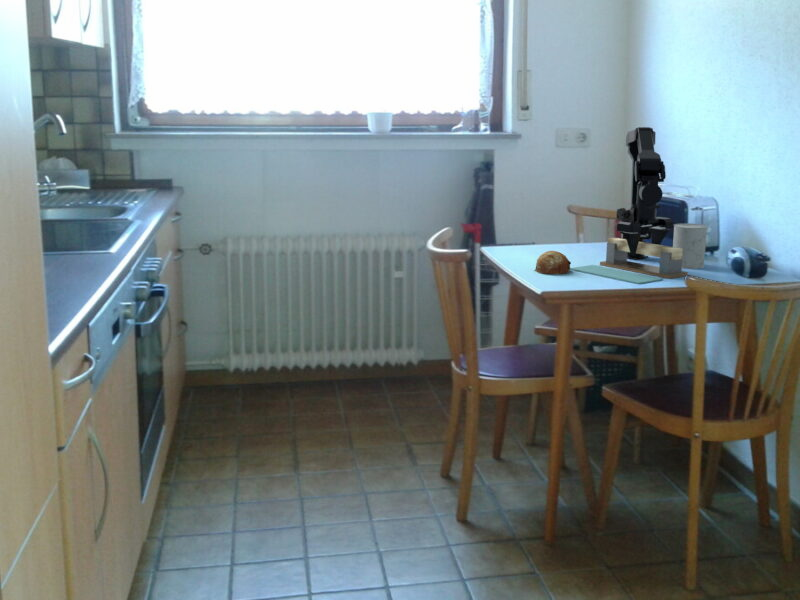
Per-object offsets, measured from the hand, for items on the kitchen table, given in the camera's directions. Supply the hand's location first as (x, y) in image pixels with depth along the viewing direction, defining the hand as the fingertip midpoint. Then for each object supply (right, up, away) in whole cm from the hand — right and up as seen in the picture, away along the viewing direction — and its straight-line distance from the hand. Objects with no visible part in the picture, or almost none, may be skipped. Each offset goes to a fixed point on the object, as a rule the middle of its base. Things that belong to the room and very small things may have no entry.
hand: (643, 253), depth 259 cm
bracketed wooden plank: (0, -5, +1) cm, 5 cm away
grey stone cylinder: (+16, -3, +8) cm, 18 cm away
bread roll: (-27, -5, -1) cm, 27 cm away
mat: (-10, -6, -6) cm, 13 cm away
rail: (0, 0, 0) cm, 0 cm away
